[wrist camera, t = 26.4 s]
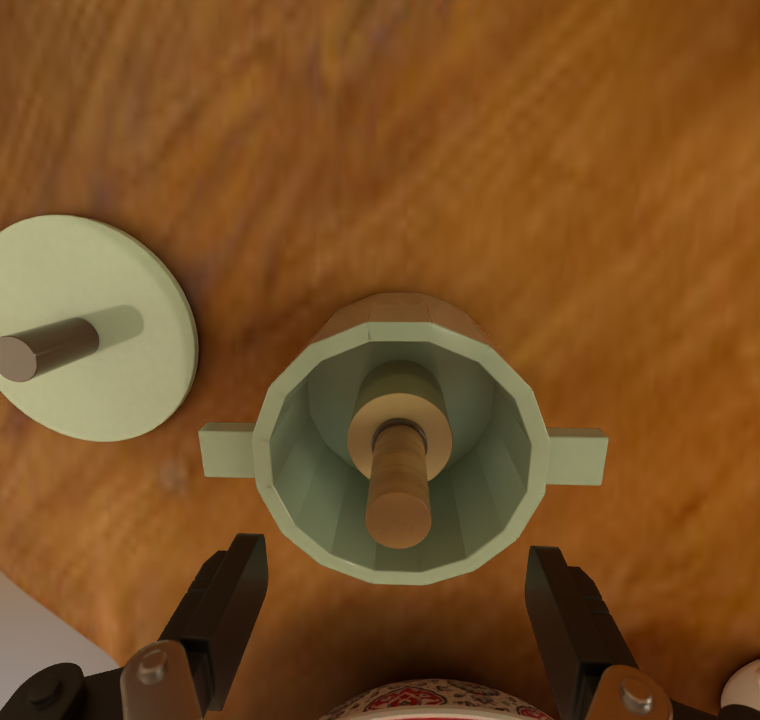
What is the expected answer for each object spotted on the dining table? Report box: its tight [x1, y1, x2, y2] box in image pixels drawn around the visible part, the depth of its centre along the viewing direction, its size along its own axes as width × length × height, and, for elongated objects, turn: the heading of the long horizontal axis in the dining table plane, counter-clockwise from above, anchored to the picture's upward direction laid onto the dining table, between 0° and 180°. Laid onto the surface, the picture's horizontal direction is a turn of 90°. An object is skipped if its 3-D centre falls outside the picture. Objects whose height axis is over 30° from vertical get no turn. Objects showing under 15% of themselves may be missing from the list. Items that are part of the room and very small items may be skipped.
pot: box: [198, 292, 609, 585], centre depth 23 cm, size 13×18×8 cm
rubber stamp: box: [347, 360, 453, 549], centre depth 21 cm, size 5×5×12 cm
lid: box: [0, 214, 199, 442], centre depth 24 cm, size 14×14×6 cm
